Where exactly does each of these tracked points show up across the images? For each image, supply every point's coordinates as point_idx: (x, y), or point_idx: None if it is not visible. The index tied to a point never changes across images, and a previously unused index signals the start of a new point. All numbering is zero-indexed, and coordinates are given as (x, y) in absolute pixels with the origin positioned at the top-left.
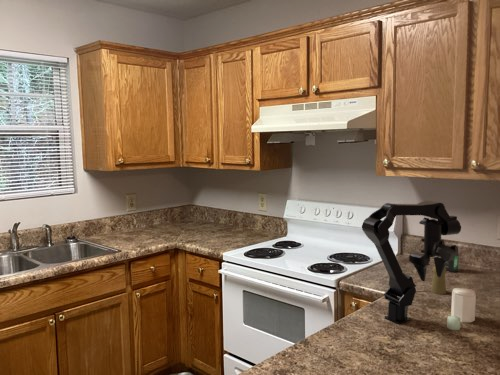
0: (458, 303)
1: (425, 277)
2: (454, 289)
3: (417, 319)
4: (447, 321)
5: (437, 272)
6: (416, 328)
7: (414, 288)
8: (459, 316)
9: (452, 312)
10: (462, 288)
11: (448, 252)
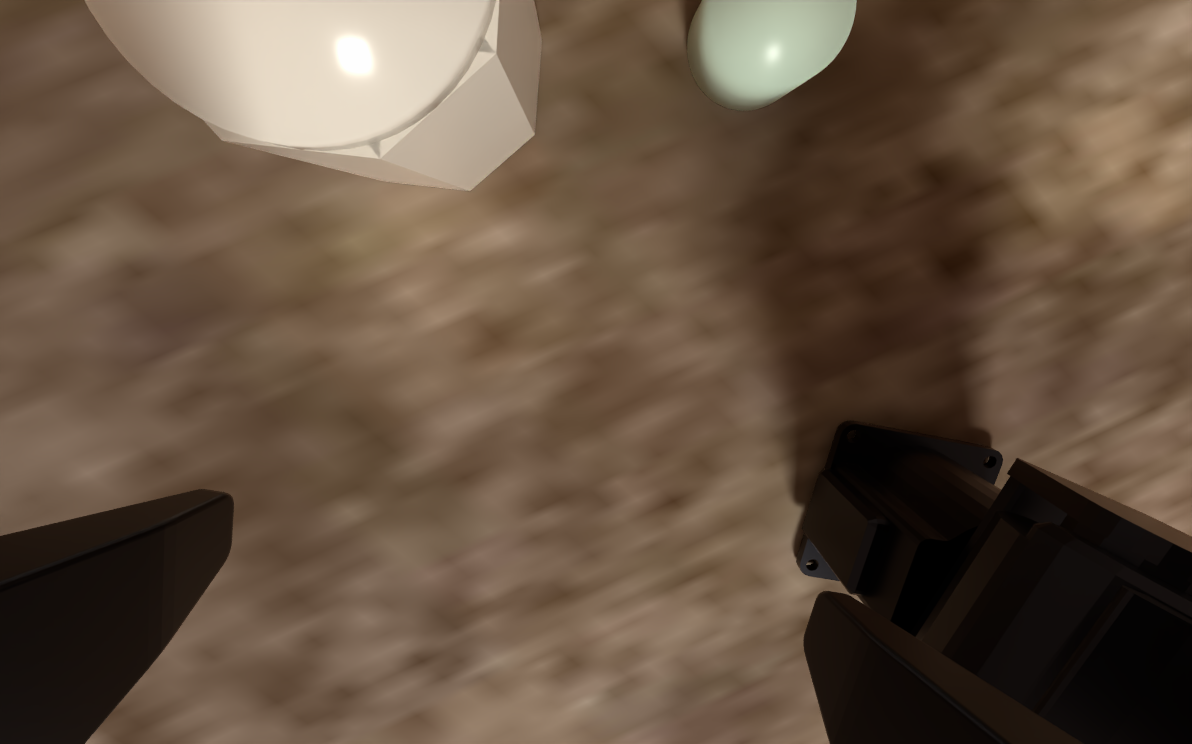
0: (519, 20)
1: (877, 638)
2: (341, 110)
3: (776, 389)
4: (797, 86)
5: (160, 625)
6: (987, 301)
7: (1136, 571)
8: (536, 53)
9: (491, 157)
10: (135, 8)
11: None
